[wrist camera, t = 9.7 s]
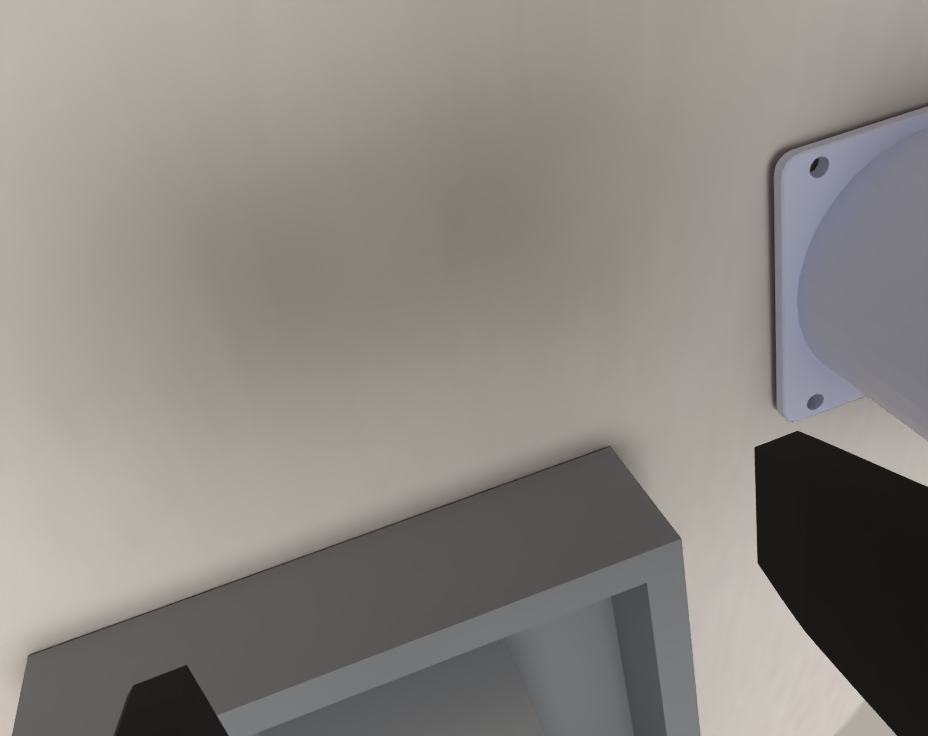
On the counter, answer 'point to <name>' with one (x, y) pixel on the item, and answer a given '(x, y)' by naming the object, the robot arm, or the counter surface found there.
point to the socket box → (424, 628)
